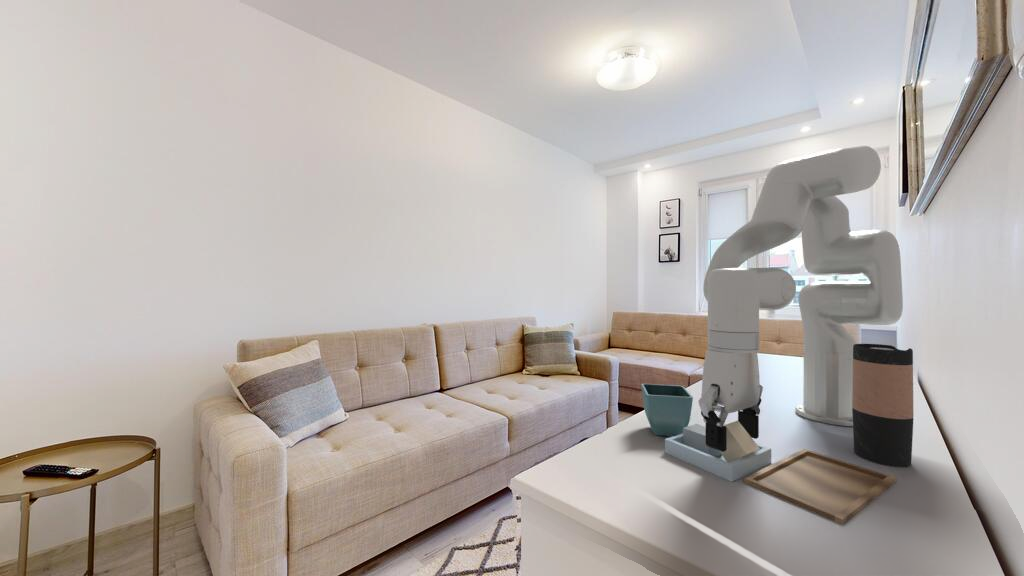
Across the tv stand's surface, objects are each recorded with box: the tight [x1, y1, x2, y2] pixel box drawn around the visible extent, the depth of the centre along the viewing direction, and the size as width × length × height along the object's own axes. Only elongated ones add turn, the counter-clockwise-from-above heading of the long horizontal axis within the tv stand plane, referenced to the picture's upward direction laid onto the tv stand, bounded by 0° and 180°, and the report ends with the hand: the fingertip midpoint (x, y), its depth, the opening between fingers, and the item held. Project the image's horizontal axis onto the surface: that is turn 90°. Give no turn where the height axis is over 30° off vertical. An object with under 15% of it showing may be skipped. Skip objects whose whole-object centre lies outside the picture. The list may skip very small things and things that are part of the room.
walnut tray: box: [743, 448, 897, 525], centre depth 58 cm, size 20×12×1 cm, turn 121°
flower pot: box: [640, 383, 694, 437], centre depth 79 cm, size 9×9×9 cm
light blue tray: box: [664, 433, 772, 483], centre depth 66 cm, size 12×12×3 cm
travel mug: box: [852, 343, 915, 469], centre depth 66 cm, size 8×8×20 cm
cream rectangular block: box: [720, 420, 760, 463], centre depth 64 cm, size 4×4×5 cm
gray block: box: [683, 423, 722, 457], centre depth 68 cm, size 4×4×5 cm
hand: (732, 441), depth 64 cm, fingers open, 9 cm apart
